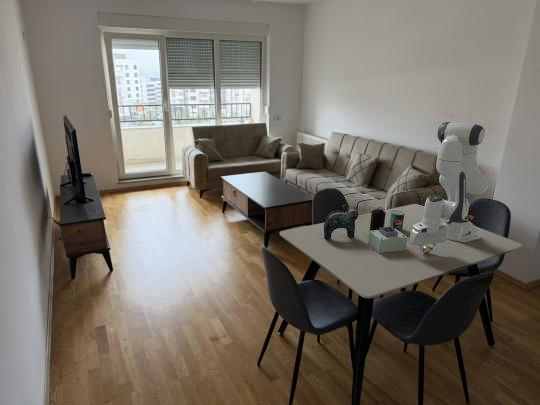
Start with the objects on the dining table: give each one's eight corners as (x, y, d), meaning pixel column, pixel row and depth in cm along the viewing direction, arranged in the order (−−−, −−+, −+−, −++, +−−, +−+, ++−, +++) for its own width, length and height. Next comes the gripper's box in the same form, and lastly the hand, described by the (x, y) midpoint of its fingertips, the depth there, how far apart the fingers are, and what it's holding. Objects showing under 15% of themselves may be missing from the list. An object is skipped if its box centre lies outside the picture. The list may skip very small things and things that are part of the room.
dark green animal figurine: (353, 234, 223) (356, 202, 216) (358, 238, 217) (361, 205, 210) (321, 236, 218) (324, 204, 212) (326, 241, 212) (328, 208, 206)
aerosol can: (383, 242, 213) (387, 208, 206) (368, 240, 214) (372, 207, 208) (382, 236, 220) (386, 204, 214) (367, 234, 222) (371, 202, 215)
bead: (426, 251, 202) (427, 244, 201) (431, 254, 199) (432, 247, 197) (420, 252, 202) (421, 245, 200) (424, 255, 198) (425, 248, 197)
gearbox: (393, 241, 214) (395, 224, 210) (405, 250, 203) (408, 232, 199) (367, 243, 210) (369, 226, 207) (378, 253, 199) (380, 235, 196)
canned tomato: (393, 225, 236) (395, 209, 233) (404, 229, 231) (407, 212, 227) (386, 228, 231) (388, 212, 227) (398, 232, 226) (400, 215, 222)
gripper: (443, 222, 200) (439, 246, 205) (409, 225, 196) (406, 249, 200) (451, 227, 195) (447, 251, 199) (416, 230, 190) (412, 254, 194)
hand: (426, 250), depth 200 cm, fingers closed on bead, 4 cm apart
